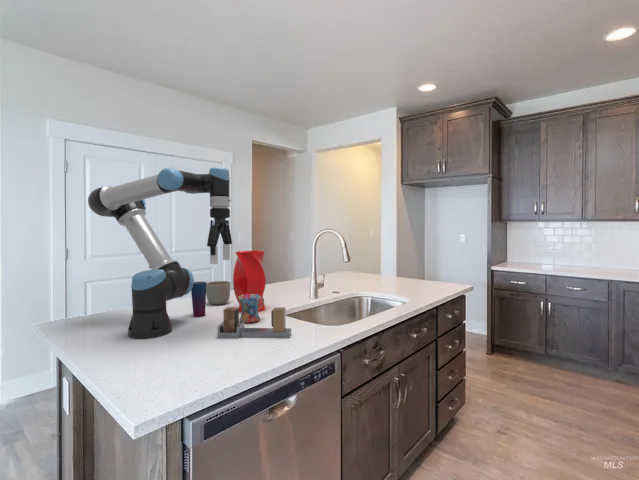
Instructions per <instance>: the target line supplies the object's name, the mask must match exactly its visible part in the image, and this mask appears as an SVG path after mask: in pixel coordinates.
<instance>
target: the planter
mask: <svg viewBox="0 0 639 480" xmlns="http://www.w3.org/2000/svg"><path fill="white" fill-rule="evenodd" d="M230 297H231V282H230V281H227V280H215V281H208V282H207V283H206V301H207V302H208V303H209V304H211V305H212V306H220V305H221V306H222V305H225V304H227V303H228V302H229V300H230Z"/></svg>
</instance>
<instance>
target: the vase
mask: <svg viewBox="0 0 639 480" xmlns="http://www.w3.org/2000/svg"><path fill="white" fill-rule="evenodd" d="M234 254H236V256H237V258H236V260H235V264H234V270H233V275H232V285H233V293H234V296H235V298H236V300H237V303H238V307H237V309H239V313H242V308H241V303H240V300H239V298H238V297H239V296H241V295H246V294H257V295H260V296H261V297H262V298H264V292H265V288H266V275H265V274H266V273H265V271H264V269H263V263H264V262H263V261H264V255H265V251H263V250H237V251H234ZM262 298H260V299H259V303H258V308H259V307H260V306H261V304H262V302H263V299H262ZM264 311H266V306H265V302H264V303H263V305H262V307H261V308H260V309H259V310H258V313H260V312H264Z"/></svg>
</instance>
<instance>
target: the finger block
mask: <svg viewBox="0 0 639 480" xmlns="http://www.w3.org/2000/svg"><path fill="white" fill-rule="evenodd" d="M222 310H223V311H222V313H223V322H224V331H236V330H237V326H238V325H239V324H240V314H239V313H240V312H239V309H238V307H237V306H227V307H224V309H222Z"/></svg>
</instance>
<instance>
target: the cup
mask: <svg viewBox="0 0 639 480" xmlns="http://www.w3.org/2000/svg"><path fill="white" fill-rule="evenodd" d="M206 283H208V282H207V281H194V283H193V288H192V290H191V291H190V292H191V294H190V295H191V304H192V312H193V313H192V315H193V317H194V318H202V317H205V316H206V305H207V304H206V303H207V302H206V301H207V296H206Z"/></svg>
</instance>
